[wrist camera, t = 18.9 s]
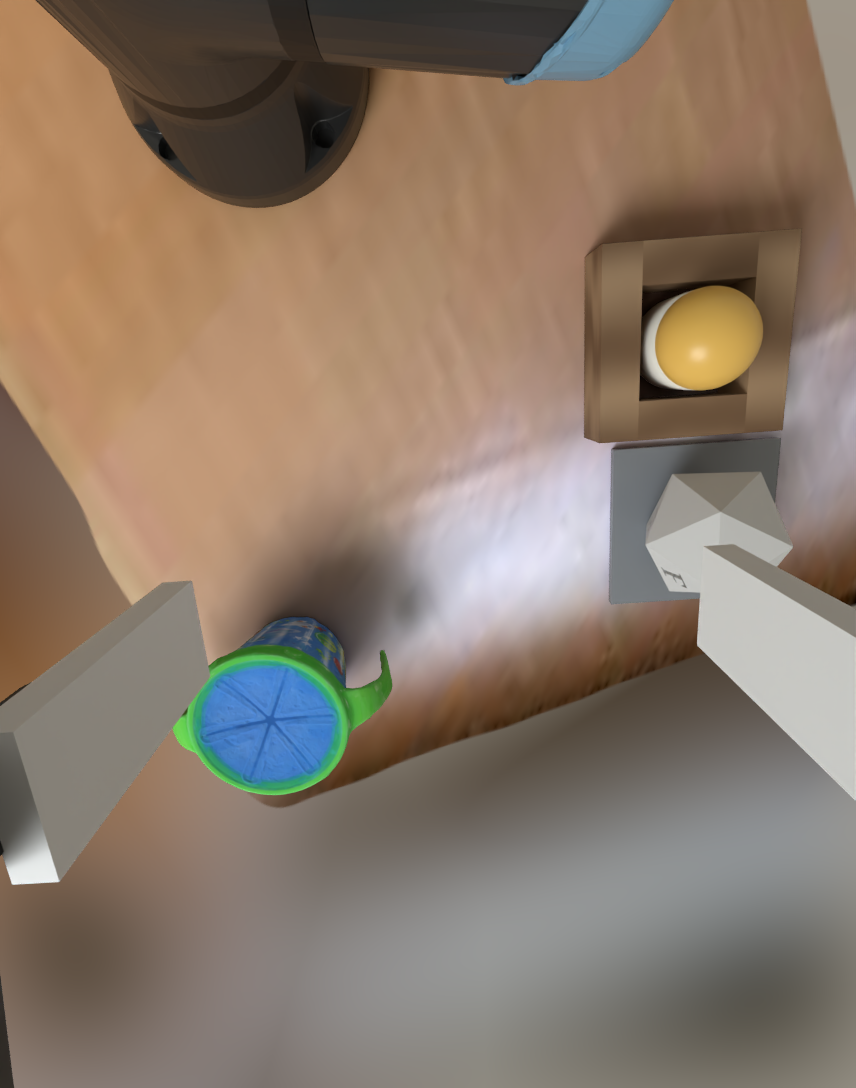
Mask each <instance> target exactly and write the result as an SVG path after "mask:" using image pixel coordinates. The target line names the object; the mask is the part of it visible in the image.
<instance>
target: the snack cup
mask: <svg viewBox="0 0 856 1088" xmlns="http://www.w3.org/2000/svg"><path fill="white" fill-rule="evenodd" d="M380 661H381V669H382V673H381V676H380V677H379V678H378V679H377V680H375V681H373V682H371V683H369V684H367V685H365V686H363V687H361V688H355V689H351V688H346V670H345V657H344V652H343V648H342V646H341V645H340V643H339V641H338V640H337V638H336V637H335V635H334V634H333V633H332V632H331V631H330V630H329V629H328V628H327V627H325V626H323V625H321V624H320V623H318V622H317V621H316V620H315V619H312V618H309V617H289V618H283V619H280V620H278V621H274V622H272V623H270V624H268V625H267V626H265V627H264V628H263V629H262V630H260V631H259V632H258V633H256V634H255V635H254V636H253V637H252V638H250V639H249V640H248V641H247V642H246V643H245V644H244V645H242V646H241V647H240V648H239V649H238V650H236V651H234V652H232V653H230V654H228V655H226V656H224V657H220V658H218V659H217V660H215V661H214V662H213V663H212V664H211V665H209V666H208V667H209V672H210V678H209V679H208V680H207V682H206V683H205V684H204V686H203V687H202V689H201V690H200V691H199V693H198V694H197V695H196V697H195V698H194V699H193V701H192V702H191V703H190V705H189V706H188V708H187V709H186V710H185V712H184V713H183V714H182V716H181V717H180V718H179V720H178V721H177V723H176V724H175V725H174V727H173V731H174V734H175V736H176V738H177V740H178V742H179V743H180V744H181V746H183V747H184V748H186V749H188V750H190V751H192V752H195V753H197V754H198V756H199V758H200V759H201V761H202V762H203V763H204V764H205V765H206V767H207V768H208V769H209V770H210V771H212V772H213V773H214V774H215V775H216V776H218V777H219V778H220V779H222V780H223V781H225V782H227V783H229V784H231V785H233V786H235V787H237V788H239V789H242V790H245V791H248V792H253V793H258V794H266V795H280V794H288V793H293V792H297V791H300V790H303V789H305V788H308V787H310V786H312V785H314V784H316V783H317V782H319V781H321V780H322V779H324V778H326V777H327V776H328V775H329V774H330V773H331V771H332V770H333V769H334V768H335V767H336V765H337V764H338V762H339V761H340V759H341V757H342V755H343V753H344V750H345V748H346V745H347V742H348V738H349V735H350V733H351V731H352V730H353V729H355V728H356V727H357V726H359V725H360V724H362V723H363V722H364V721H366V720H367V719H370V717H371V716H372V715H373V714H374V713H375V712H376V711H377V710H378V709H379V708H380V707H381V706H382V705H383V703H384V702H385V700H386V699H387V698H388V696H389V694H390V692H391V689H392V679H391V675H390V670H389V666H388V661H387V657H386V654H385V652H384V650H381V651H380Z"/></svg>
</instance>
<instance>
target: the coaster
mask: <svg viewBox="0 0 856 1088" xmlns="http://www.w3.org/2000/svg"><path fill="white" fill-rule="evenodd" d="M780 444H781V438H763V439H749V440H735V441H721V442H707V443H693V444H678V445H664V446H650V447H636V448H622V449H611V507H610V567H609V602H610V603H611V604H623V603H638V602H653V601H668V600H684V599H699V598H700V593H697V592H674V591H669V589H668V587H667V586H666V584H665V582H664V580H663V578H662V576H661V574H660V572H659V570H658V568H657V566H656V564H655V562H654V561H653V559H652V557H651V555H650V553H649V551H648V549H647V547H646V545H645V542H646V525H647V523H648V521H649V519H650V517H651V515H652V513H653V511H654V509H655V507H656V505H657V503H658V501H659V499H660V497H661V495H662V493H663V491H664V489H665V487H666V485H667V483H668V481H669V480H670V478H671V476H672V474H692V473H728V472H761V473H762V476H763V478H764V480H765V482H766V485H767V487H768V489H769V492H770V494H771V496H772V499H773V501H774V503H775V496H776V485H777V475H778V465H779V454H780Z"/></svg>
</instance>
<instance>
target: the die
mask: <svg viewBox="0 0 856 1088" xmlns="http://www.w3.org/2000/svg"><path fill="white" fill-rule="evenodd" d="M728 544H734V545H736V546H738V547H740V548H742V549H744V550H746V551H747V552H749V553H751V554H753V555H755V556H757V557H759V558H761V559H762V560H764V561H766V562H768V563H770V564H772V565H774V566H776V567H777V566H778V564H779V563H780V562H781V561H782V560H783V559H784V557H785V556H786V555H787V554H788V553H789V552H790V550H791V549H792V548H793V545H792V543H791V540H790V538H789V536H788V533H787V531H786V529H785V526H784V524H783V522H782V519H781V517H780V515H779V512H778V510H777V508H776V506H775V503H774V501H773V499H772V496H771V494H770V492H769V489H768V487H767V485H766V482H765V480H764V478H763V476H762V473H761V472H728V473H692V474H672V476H671V478H670V480H669V481H668V483H667V485H666V487H665V489H664V491H663V493H662V495H661V497H660V499H659V501H658V503H657V505H656V507H655V509H654V511H653V513H652V515H651V517H650V519H649V521H648V523H647V525H646V542H645V545H646V547H647V549H648V551H649V553H650V555H651V557H652V559H653V561H654V562H655V564H656V566H657V568H658V570H659V572H660V574H661V576H662V578H663V580H664V582H665V584H666V586H667V587H668V589H669V591H674V592H697V593H700V591H701V575H702V559H703V546H713V545H728Z"/></svg>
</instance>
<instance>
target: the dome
mask: <svg viewBox="0 0 856 1088" xmlns="http://www.w3.org/2000/svg"><path fill="white" fill-rule="evenodd" d="M762 338H763V322H762V318H761V315H760V312H759V310H758V309H757V307H756V305H755V304H754V302H753V301H752V300H751V299H750V298H749V297H748V296H747V295H745V294H744V293H742V292H740V291H738V290H736V289H734V288H730V287H725V286H707V287H702V288H698V289H695V290H692V291H689V292H686V293H683V294H680V295H678V296H675V297H672V298H669V299H666V300H664V301H661V302H660V303H658V304H656V305H655V306H653V307H652V308H651V309H650V310H649V311H648V312H647V313H646V314H645V315H644V316H643V318H642V319H641V349H640V374H641V375H642V377H643V378H644V379H645V380H647V381H648V382H649V383H651V384H652V385H654V386H657V387H659V388H663V389H675V390H709V389H715V388H718V387H721V386H723V385H726V384H728V383H730V382H732V381H733V380H735V379H736V378H738V377H739V376H740V375H741V374H743V373H744V372H745V371H746V370H747V369H748V367H749V366H750V365H751V364H752V362H753V361H754V359H755V357H756V356H757V354H758V352H759V349H760V347H761V343H762Z"/></svg>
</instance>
